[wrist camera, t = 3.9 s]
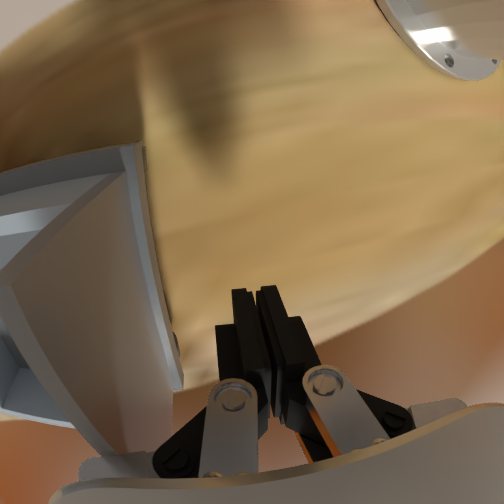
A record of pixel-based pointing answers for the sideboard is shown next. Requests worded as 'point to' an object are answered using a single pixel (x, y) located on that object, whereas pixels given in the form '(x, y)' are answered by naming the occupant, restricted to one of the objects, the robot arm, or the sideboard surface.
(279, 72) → the sideboard surface
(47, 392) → the grey open box
